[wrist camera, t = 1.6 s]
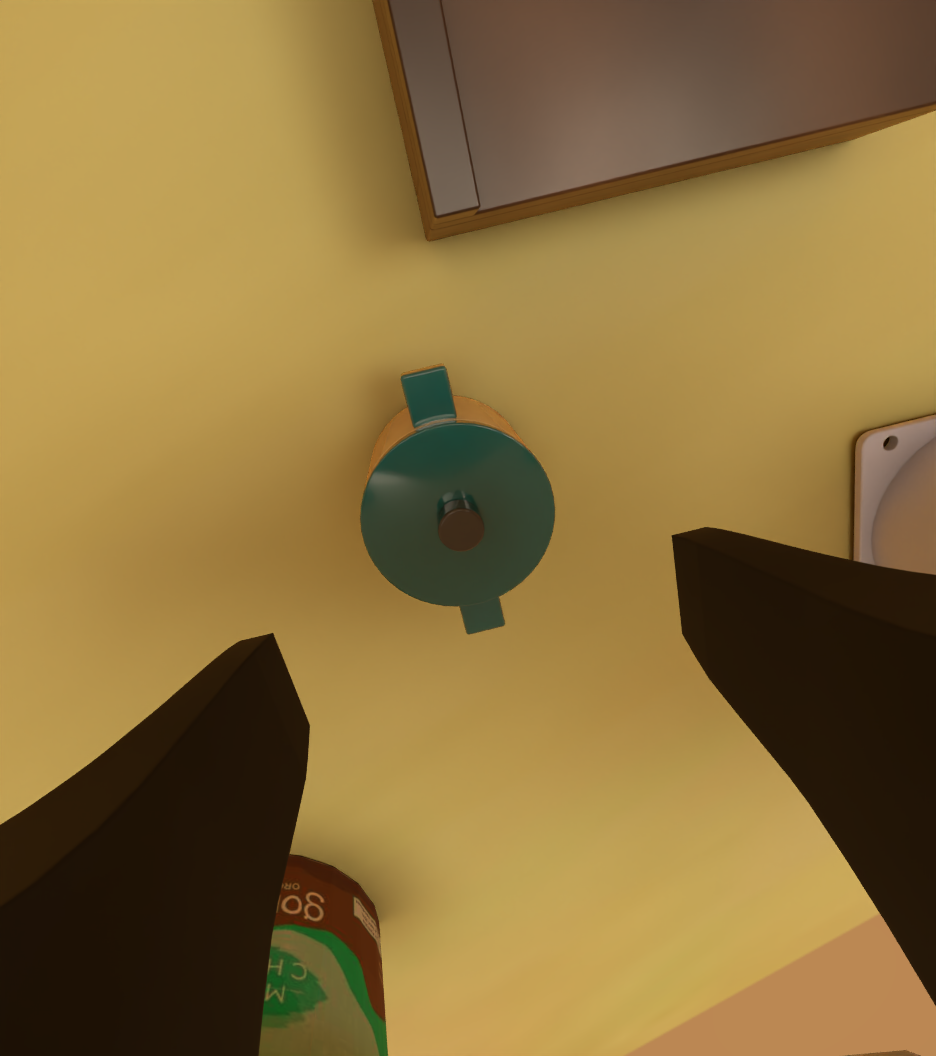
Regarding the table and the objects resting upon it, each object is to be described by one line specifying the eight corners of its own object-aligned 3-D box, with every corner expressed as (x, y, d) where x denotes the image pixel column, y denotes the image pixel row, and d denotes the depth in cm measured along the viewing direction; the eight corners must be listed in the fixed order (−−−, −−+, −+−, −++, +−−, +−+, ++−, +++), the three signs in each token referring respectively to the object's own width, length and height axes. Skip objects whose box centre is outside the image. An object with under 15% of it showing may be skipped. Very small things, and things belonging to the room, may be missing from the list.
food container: (400, 816, 26) (396, 1115, 16) (412, 919, 28) (414, 1233, 18) (95, 850, 25) (-93, 1186, 15) (133, 954, 27) (-12, 1302, 18)
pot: (500, 336, 19) (534, 351, 14) (543, 557, 22) (583, 635, 17) (338, 375, 19) (314, 404, 14) (403, 592, 22) (401, 680, 17)
